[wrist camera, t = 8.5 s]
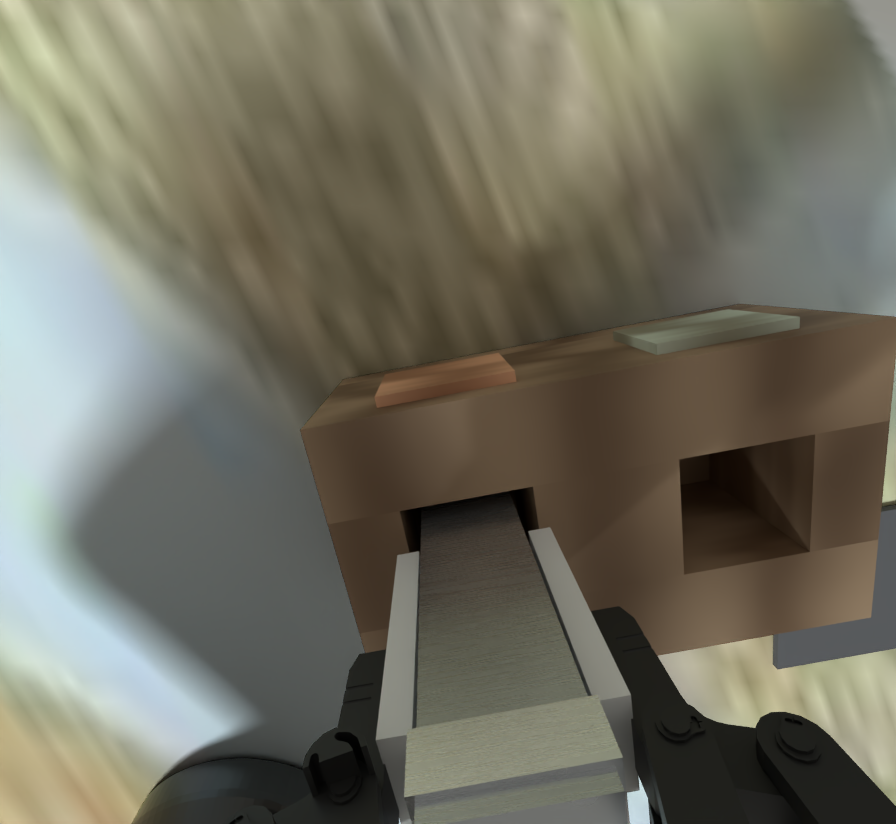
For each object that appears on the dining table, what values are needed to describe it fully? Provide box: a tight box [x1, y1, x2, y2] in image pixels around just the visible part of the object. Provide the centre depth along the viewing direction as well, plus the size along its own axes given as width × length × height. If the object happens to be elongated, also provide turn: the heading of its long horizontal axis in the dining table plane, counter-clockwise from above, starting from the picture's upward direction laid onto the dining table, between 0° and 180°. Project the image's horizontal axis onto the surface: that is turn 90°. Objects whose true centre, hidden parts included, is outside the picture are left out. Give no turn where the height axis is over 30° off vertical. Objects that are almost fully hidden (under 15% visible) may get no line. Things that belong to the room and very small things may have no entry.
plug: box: [404, 491, 630, 824], centre depth 15 cm, size 4×4×16 cm
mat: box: [773, 505, 896, 669], centre depth 27 cm, size 10×10×1 cm
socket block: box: [300, 304, 896, 656], centre depth 21 cm, size 20×12×8 cm, turn 100°
